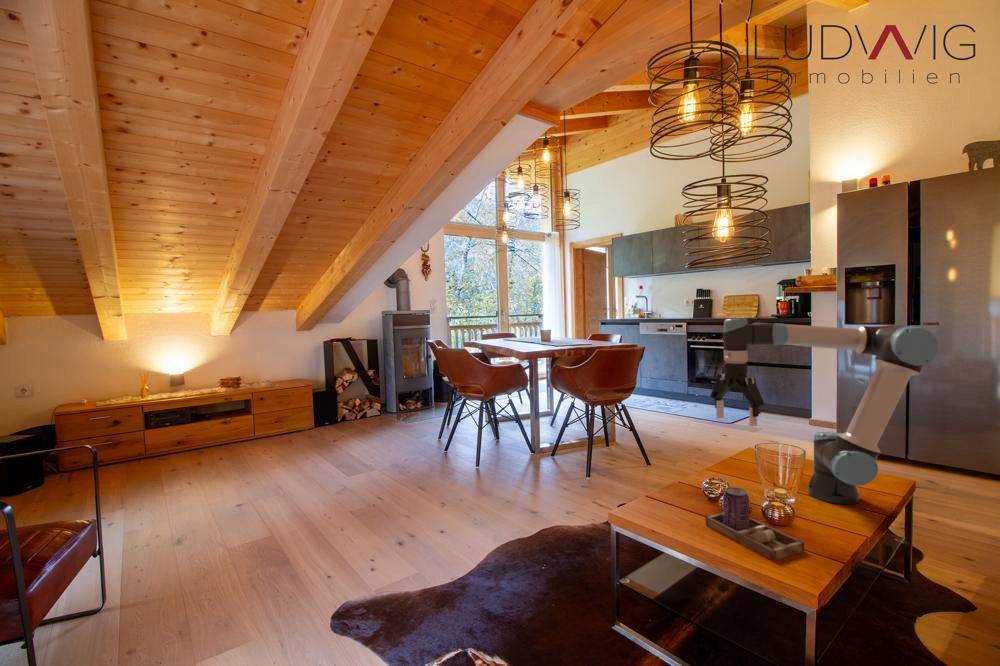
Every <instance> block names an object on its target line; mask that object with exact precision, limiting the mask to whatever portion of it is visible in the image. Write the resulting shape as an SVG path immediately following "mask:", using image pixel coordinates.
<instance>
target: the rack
mask: <svg viewBox="0 0 1000 666" xmlns="http://www.w3.org/2000/svg"><path fill="white" fill-rule="evenodd" d="M705 526H707V527H709V528H711V529H713V530H715V531H716V532H718V533H720V534H722V535H724V536H725V537H727V538H729V539H732V540H733V541H735V542H737V543H738V544H741V545H742V546H745V547H746V548H748V549H750V550H751V551H753V552H756V553H758V554H760V555H761V556H763V557H765V558H767V559H769V560H771V561H773V562H775V561H778V560H782V559H784V558H787V557H791V556H794V555H797V554H800V553H803V552H805V542H804V541H802V540H800V539H798V538H796V537H794V536H791V535H789V534H786V533H784V532H783V531H781V530H778V529H776V528H774V527H771V526H769V525H767V524H765V523H763V522H761V521H758V520H756V519H755V518H753V517H750V516H749V529H745V530H742V531H736V530H734V529H732V528H730V527H728V526H726V525H724V524H723V512H720V513H716V514H712V515H708V516H705ZM768 529H770V530H772V531H773V532H774V534H775V536H776V538H775V540H773V541H770V542H766V543H763V544H762V543H760V542H758V541H756V540H754V539H752V538H750V537H749V535H750V534H754V533H757V532H761V531H765V530H768Z"/></svg>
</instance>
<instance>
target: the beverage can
mask: <svg viewBox="0 0 1000 666" xmlns="http://www.w3.org/2000/svg"><path fill="white" fill-rule="evenodd" d="M722 495H723V496H722V513H723V524H724V525H726V526H728V527H730V528H732V529H734V530H736V531H742V530H745V529H749V517H750V498H749V497H750V496H749V495H748V491H747V490H746V489H743V488H741V487H737V486H729V487H725V488H724V492H723V494H722Z"/></svg>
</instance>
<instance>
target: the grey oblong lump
mask: <svg viewBox="0 0 1000 666" xmlns="http://www.w3.org/2000/svg"><path fill="white" fill-rule="evenodd" d="M749 537H750V538H752V539H754V540H756V541H758V542H760V543H762V544H763V543H766V542H770V541H773V540H775V538H776V536H775V534H774V532H773V531H772V530H770V529H768V530H765V531H761V532H757V533H754V534H750V535H749Z"/></svg>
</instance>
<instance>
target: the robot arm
mask: <svg viewBox="0 0 1000 666" xmlns="http://www.w3.org/2000/svg"><path fill="white" fill-rule="evenodd" d="M722 332H723V334H722V335H723V361H724V363H723V373H718V374H717V376H716V381H715V383H714V386H713V388H712V390H711V393H710V395H709V396H710V398H712V399H714V402H715V403H714V404H715V405H714V406H715V407H714V408H715V409H716V419H722V418H723V419H724V418H725V412H724V410H725V409H724V408H725V407H724V404H725V402H724V401H725V400H724V399H723V398H724V397H725V396H726V394H727V393H728V392H729V390H730V389H735V390H739V391H740V392H742V395H743V396H744V397H745V398H746V400H747V401H748V404H750V406H749V407H748V410H749V413H748V415H749V417H748V418H749V419H748V420H749V421H748V423H749V425H748V426H749V427H756V426H758V417H759V413H760V409H759V408H760V407H763V406H765V402H764V400H763V398H762V395H761V393H760V389H759V388H758V386H757V382H756V378H755V377H747V374H748V371H749V370H748V369H749V368H748V367H749V365H748V363H747V362H748V361H749V360H748V359H749V358H748V357H749V356H748V355H749V353H748V350H749V349H748V347H749V346H775V347H776V346H784V345H785V346H794V347H795V346H797V347H798V346H799V347H810V348H823V349H834V350H847V351H848V350H849V351H855V353H856V354H864V355H870V356H875V357H874V362H875V364H876V365H877V366H876V368H875V371H874V373H873V375H872V378H871V379H870V381H869V384H868V386H867V388H866V389H865V392H864V394H863V396H862V398H861V400H860V403H859V404H858V406H857V409H856V411H855V413H854V415H853V417H852V419H851V420H850V421H851V422H849V425H848V427H847V429H846V431H845V432H843V433H842V432H835V431H834V432H831V431H818V432H815V433H814V435H813V441H812V442H813V473H812V475H811V477H810V480H809V483H808V484H807V493H808V495H810V496H811V497H813V498H815V499H817V500H820V501H823V502H827V503H832V504H839V505H856V504H859V503H860V499H861V497H860V496H861V495H860V492H859V490H858V487H857V486H863V485H867V484H870V483H871V482H873V481H874V480H875V479H876V478H877V476H878V473H879V465H878V463H877V459H878V457H879V456H880V453H881V450H880V448H879V446H878V443H879V441H880V439H881V438H882V436H883V434H884V431H885V429H886V427H887V426H888V424H889V421H890V419H891V417H892V416H893V414H894V412H895V409H896V407H897V405H898V403H899V401H900V399H901V397H902V395H903V394H904V392H905V389H906V387H907V385H908V383H909V381H910V379H911V377H915V376H917V375H920V373H921V371H922V370H923V367H924V365H926V364H929V363H930V362H932V361H933V360H934V359H936V358H937V356H938V355H939V351H940V343H939V339H938V338H937V337H936V335H935V334H934V333H932V332H931V331H930V330H928V329H926V328H923V327H919V326H914V325H898V324H896V325H894V324H892V325H878V326H877V325H876V326H874V325H873V326H872V325H871V326H865V325H860V326H858V327H856V328H854V327H853V328H850V327H837V326H836V327H833V326H820V325H818V326H817V325H803V324H789V323H787V324H786V323H776V322H774V323H772V322H771V323H768V322H762V321H756V322H753V323H749V321H748V319H747V318H725V320H724V321H723V331H722Z"/></svg>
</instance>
